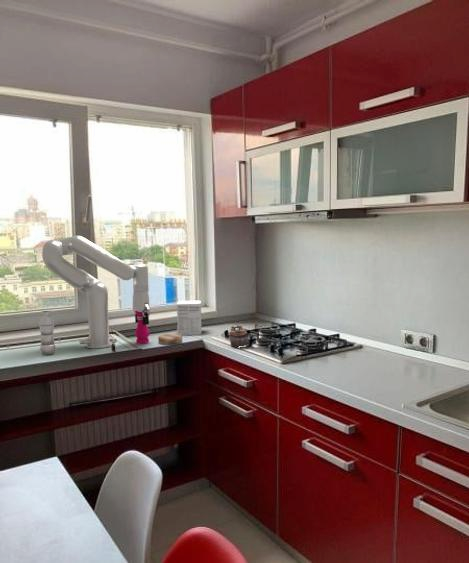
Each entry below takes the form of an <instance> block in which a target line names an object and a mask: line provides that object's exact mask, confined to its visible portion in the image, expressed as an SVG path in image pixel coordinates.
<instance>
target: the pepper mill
mask: <svg viewBox="0 0 469 563" xmlns="http://www.w3.org/2000/svg"><path fill="white" fill-rule="evenodd" d="M144 311H146V310H144ZM144 313H146V312H144ZM136 315H137V319H138V323H137V326H136V329H135V333H134V334H135V335H134V336H135V337H136V339H135V340H136V341H135V342H136V344H143V345H144V344H148V343H149V340H150V338H149V337H150V335H151V334H150V329H149V328H148V324H147V325H143V314H142V312H138V311H137V310H136Z"/></svg>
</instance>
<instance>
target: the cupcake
mask: <svg viewBox="0 0 469 563" xmlns="http://www.w3.org/2000/svg"><path fill="white" fill-rule="evenodd" d="M228 334H229V335H228V338H229V342H230V347H231V348H233V349H234V348H235V349H238V348H237V347H239V346H244V345H247V343H248V344H249V338H250V336H249V335H248V332H247V330H246V329H245V328H244V327H243V326H242V325H238V324H237V325H236V326H231V327H230V331H229V332H228ZM247 346H248V345H247Z"/></svg>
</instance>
